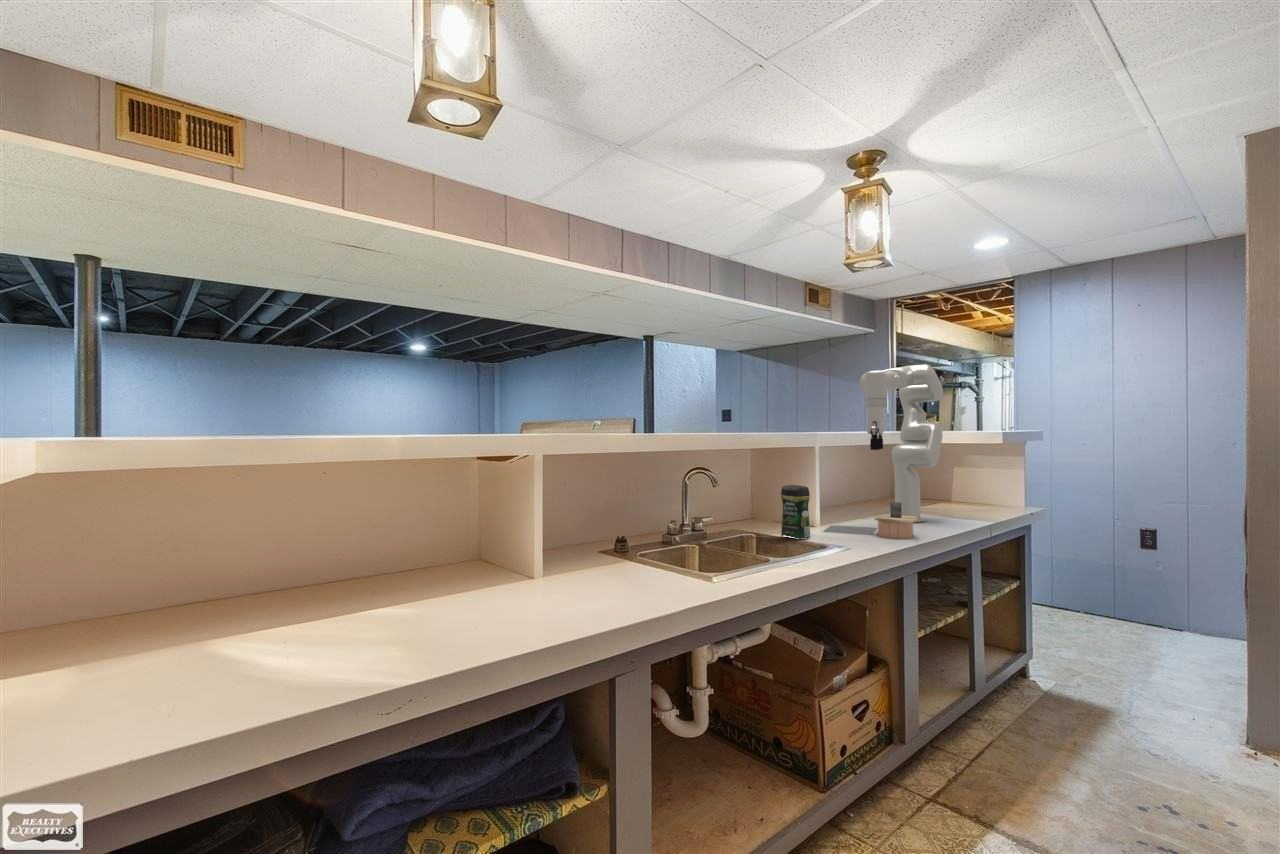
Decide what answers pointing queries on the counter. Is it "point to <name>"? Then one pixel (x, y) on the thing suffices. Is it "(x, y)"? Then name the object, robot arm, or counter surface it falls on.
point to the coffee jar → (795, 511)
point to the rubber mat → (851, 529)
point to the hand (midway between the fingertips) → (876, 449)
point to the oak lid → (896, 515)
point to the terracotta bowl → (895, 529)
